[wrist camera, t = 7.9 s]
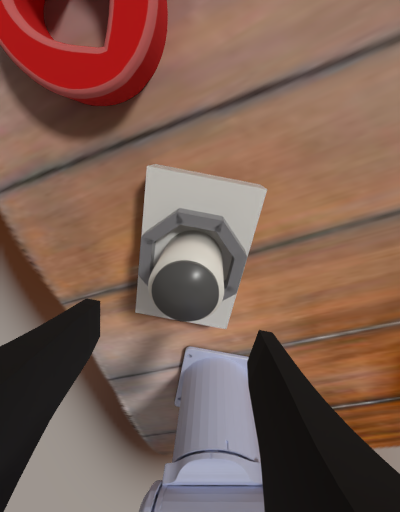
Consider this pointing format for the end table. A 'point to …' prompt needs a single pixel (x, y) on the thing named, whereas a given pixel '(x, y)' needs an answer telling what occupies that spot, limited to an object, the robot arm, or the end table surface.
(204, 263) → the lens
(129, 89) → the decorative ornament
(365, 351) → the end table surface
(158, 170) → the plate with octagonal ring
